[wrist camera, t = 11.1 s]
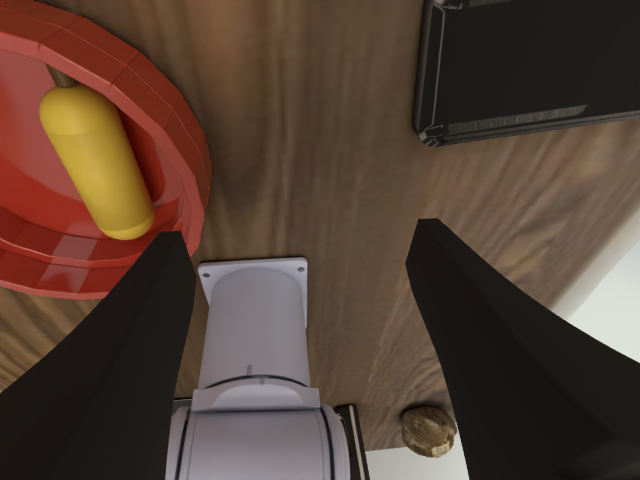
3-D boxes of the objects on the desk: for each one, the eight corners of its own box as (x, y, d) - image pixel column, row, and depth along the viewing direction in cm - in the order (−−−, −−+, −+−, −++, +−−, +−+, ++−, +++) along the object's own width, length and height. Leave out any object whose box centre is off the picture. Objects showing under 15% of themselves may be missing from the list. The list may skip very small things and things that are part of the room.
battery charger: (329, 405, 47) (342, 510, 39) (356, 402, 47) (375, 506, 39) (326, 423, 52) (337, 521, 43) (351, 421, 52) (366, 517, 44)
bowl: (229, 240, 24) (224, 291, 21) (10, 251, 23) (-32, 307, 20) (179, -6, 14) (154, 19, 11) (-210, -13, 13) (-366, 14, 10)
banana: (117, 216, 21) (167, 216, 21) (96, 251, 19) (152, 251, 19) (36, 46, 15) (108, 48, 15) (-11, 70, 13) (74, 72, 13)
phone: (435, -23, 14) (796, -71, 14) (426, -27, 15) (767, -72, 15) (416, 150, 20) (676, 114, 20) (410, 141, 20) (660, 106, 21)
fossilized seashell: (452, 436, 55) (464, 401, 49) (445, 480, 50) (457, 446, 44) (405, 417, 58) (411, 382, 52) (394, 457, 53) (399, 422, 47)
